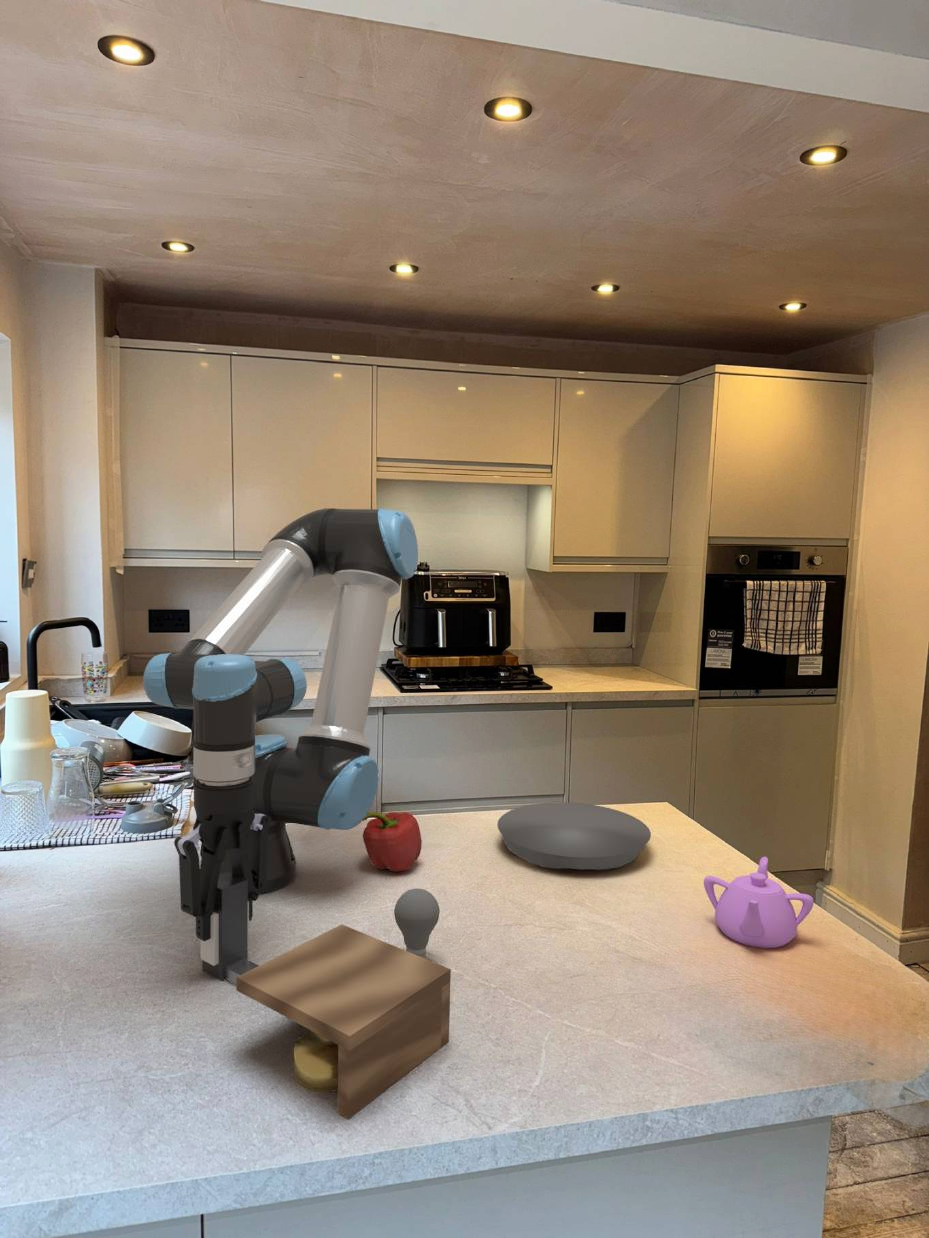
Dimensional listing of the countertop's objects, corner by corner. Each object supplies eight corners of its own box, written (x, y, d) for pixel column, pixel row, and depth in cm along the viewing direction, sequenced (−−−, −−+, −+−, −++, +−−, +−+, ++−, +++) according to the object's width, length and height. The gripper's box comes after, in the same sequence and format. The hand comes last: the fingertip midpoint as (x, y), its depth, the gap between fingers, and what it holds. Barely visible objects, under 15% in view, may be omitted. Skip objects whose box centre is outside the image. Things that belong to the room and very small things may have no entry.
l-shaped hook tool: (202, 970, 106) (202, 881, 105) (227, 958, 110) (227, 871, 109) (322, 1034, 94) (323, 932, 92) (347, 1018, 97) (348, 920, 96)
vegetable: (368, 883, 135) (369, 823, 134) (351, 860, 144) (352, 804, 143) (430, 874, 139) (432, 816, 138) (410, 852, 149) (411, 798, 148)
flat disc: (503, 819, 168) (504, 798, 168) (643, 828, 164) (644, 807, 164) (488, 875, 141) (489, 850, 140) (656, 888, 137) (657, 863, 136)
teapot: (761, 909, 129) (765, 854, 128) (822, 952, 116) (827, 891, 115) (694, 916, 126) (697, 860, 125) (748, 961, 113) (753, 899, 112)
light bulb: (444, 956, 112) (446, 885, 111) (428, 977, 106) (430, 903, 105) (403, 948, 114) (405, 878, 113) (385, 968, 108) (387, 895, 107)
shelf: (236, 1051, 90) (236, 977, 89) (340, 989, 103) (341, 924, 102) (348, 1118, 80) (349, 1036, 79) (448, 1041, 93) (450, 969, 92)
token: (279, 1074, 87) (280, 1047, 86) (328, 1043, 92) (328, 1017, 92) (326, 1103, 83) (327, 1074, 82) (374, 1068, 88) (374, 1041, 88)
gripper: (184, 799, 95) (185, 991, 98) (296, 769, 109) (294, 938, 111) (146, 786, 100) (148, 971, 102) (258, 758, 114) (258, 921, 116)
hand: (225, 953), depth 107 cm, fingers closed on l-shaped hook tool, 4 cm apart
